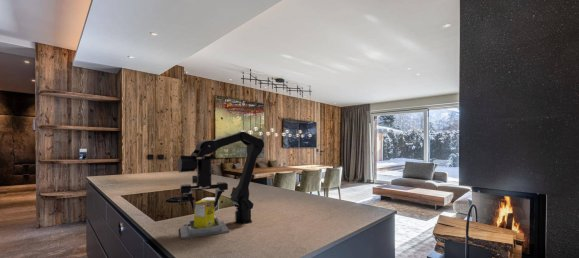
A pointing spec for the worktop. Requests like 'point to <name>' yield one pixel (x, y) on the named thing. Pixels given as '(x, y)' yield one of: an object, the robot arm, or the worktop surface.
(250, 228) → the worktop surface
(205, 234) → the plate
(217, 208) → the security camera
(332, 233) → the worktop surface
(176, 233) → the worktop surface
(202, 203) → the supplement box
